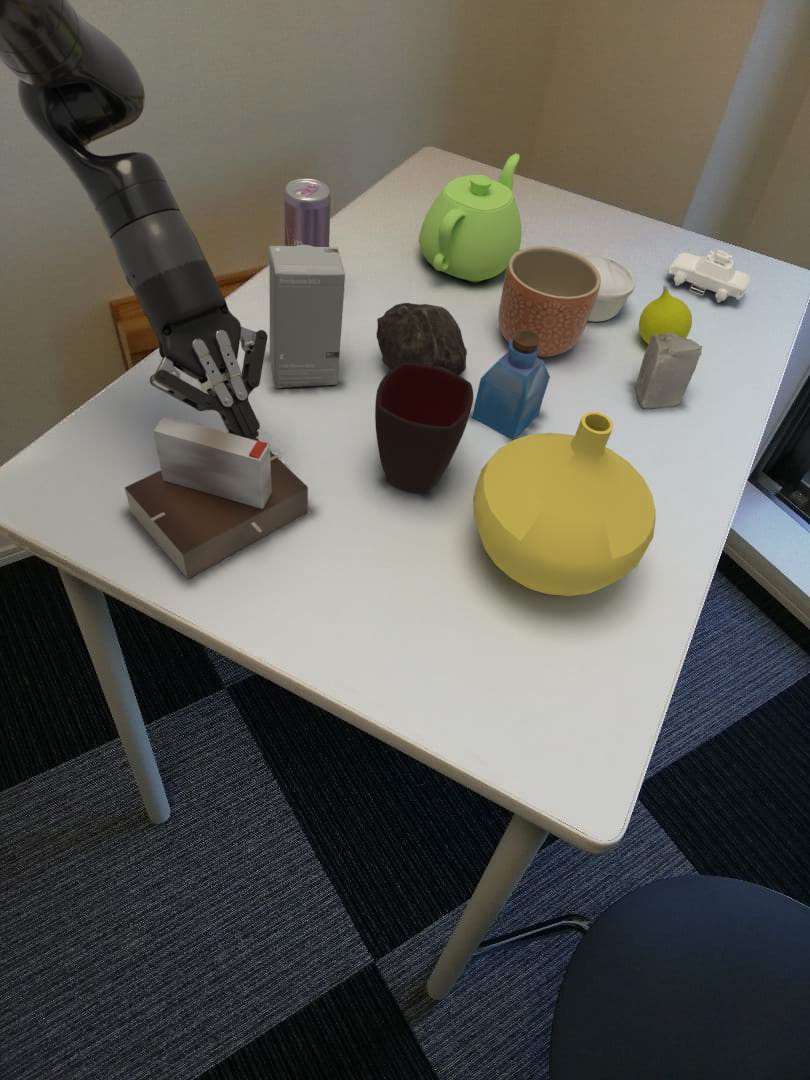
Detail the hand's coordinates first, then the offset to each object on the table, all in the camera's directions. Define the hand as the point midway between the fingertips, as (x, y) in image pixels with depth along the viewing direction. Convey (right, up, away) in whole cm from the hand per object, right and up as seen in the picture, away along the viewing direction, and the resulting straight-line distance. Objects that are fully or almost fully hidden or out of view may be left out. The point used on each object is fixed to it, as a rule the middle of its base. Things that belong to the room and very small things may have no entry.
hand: (249, 439), depth 77 cm
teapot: (+26, +34, +43) cm, 60 cm away
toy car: (+63, +29, +44) cm, 82 cm away
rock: (+18, +12, +24) cm, 32 cm away
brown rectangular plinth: (-4, -7, +5) cm, 10 cm away
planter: (+34, +18, +31) cm, 49 cm away
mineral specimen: (+49, +10, +27) cm, 57 cm away
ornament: (+52, +18, +34) cm, 65 cm away
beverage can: (+2, +25, +33) cm, 41 cm away
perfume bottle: (+28, +5, +20) cm, 35 cm away
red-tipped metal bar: (-4, -5, +2) cm, 6 cm away
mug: (+17, -1, +13) cm, 22 cm away
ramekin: (+43, +25, +38) cm, 63 cm away
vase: (+31, -12, +7) cm, 34 cm away
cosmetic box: (+3, +12, +22) cm, 25 cm away
